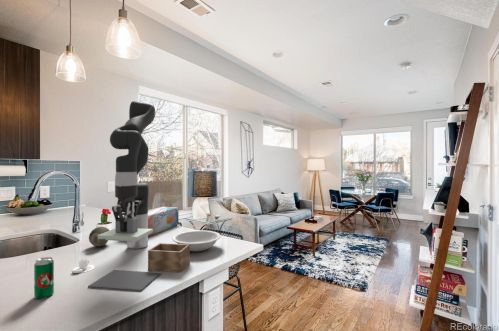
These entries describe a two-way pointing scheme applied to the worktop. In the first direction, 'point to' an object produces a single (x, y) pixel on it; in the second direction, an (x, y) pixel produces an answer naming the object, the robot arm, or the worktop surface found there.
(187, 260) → the walnut box
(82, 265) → the teacup and saucer
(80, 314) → the worktop surface
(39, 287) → the soda can
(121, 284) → the rubber mat
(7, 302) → the worktop surface
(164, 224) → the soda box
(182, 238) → the white sink basin
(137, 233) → the lid
